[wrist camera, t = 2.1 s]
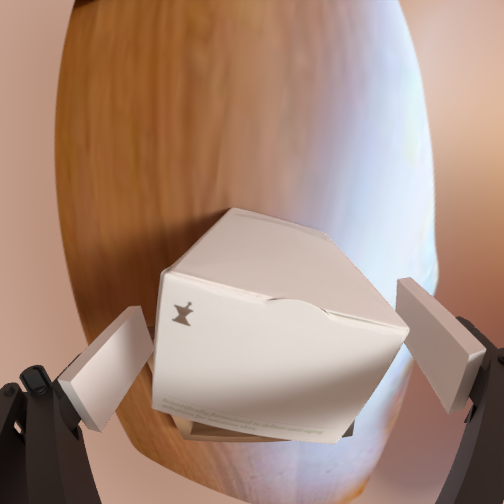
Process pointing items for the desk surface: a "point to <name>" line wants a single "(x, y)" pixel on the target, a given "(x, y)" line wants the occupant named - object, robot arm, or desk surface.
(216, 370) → the skincare box
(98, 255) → the desk surface
